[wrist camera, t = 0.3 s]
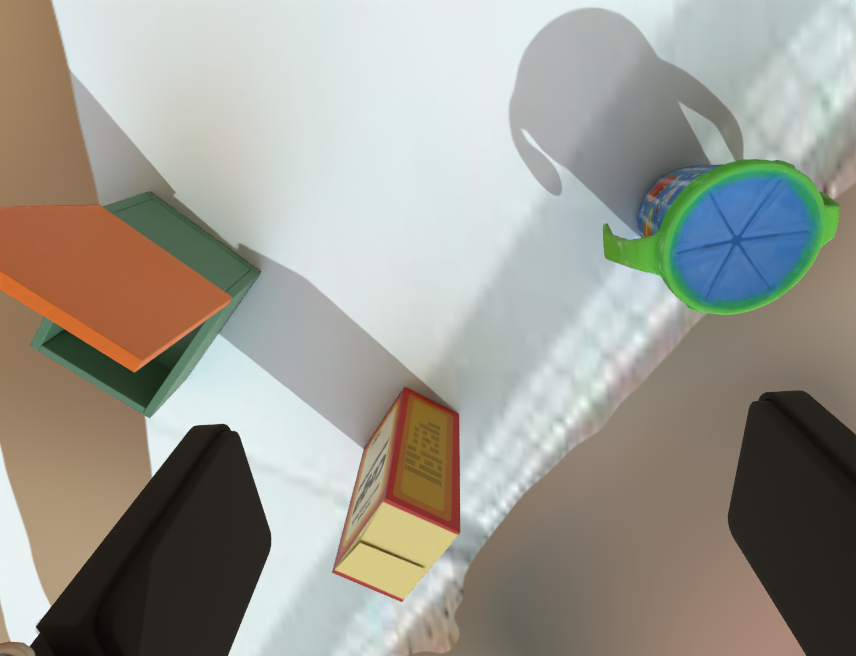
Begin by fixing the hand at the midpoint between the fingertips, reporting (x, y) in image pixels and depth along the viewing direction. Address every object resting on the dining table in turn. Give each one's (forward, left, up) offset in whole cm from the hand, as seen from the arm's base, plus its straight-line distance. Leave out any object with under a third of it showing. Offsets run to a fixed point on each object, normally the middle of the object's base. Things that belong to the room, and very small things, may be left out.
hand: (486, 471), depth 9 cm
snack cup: (+4, +18, -37) cm, 41 cm away
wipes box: (+9, -29, -36) cm, 47 cm away
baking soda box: (+26, -7, -37) cm, 46 cm away
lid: (+2, -22, -21) cm, 31 cm away
